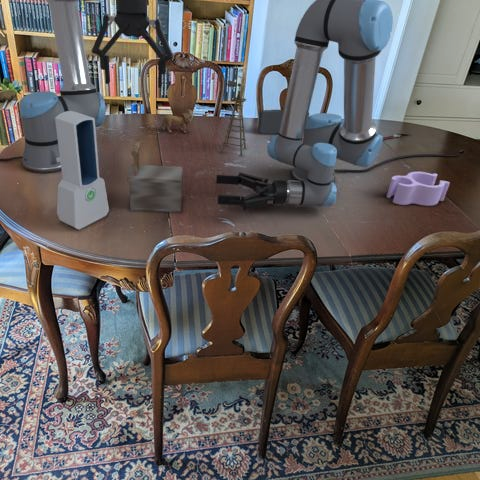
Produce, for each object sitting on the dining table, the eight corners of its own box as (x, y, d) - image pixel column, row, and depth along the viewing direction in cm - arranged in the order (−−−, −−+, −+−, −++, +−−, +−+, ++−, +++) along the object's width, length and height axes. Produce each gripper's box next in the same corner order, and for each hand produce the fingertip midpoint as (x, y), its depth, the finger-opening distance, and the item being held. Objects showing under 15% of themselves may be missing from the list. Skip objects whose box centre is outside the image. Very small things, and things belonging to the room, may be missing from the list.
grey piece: (126, 180, 134) (125, 151, 129) (130, 167, 141) (129, 139, 136) (181, 183, 135) (182, 154, 130) (182, 170, 143) (183, 142, 138)
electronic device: (76, 231, 126) (63, 124, 110) (57, 222, 129) (42, 116, 113) (110, 214, 135) (103, 112, 119) (91, 206, 138) (82, 105, 122)
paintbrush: (406, 132, 223) (406, 130, 222) (411, 134, 221) (412, 132, 220) (362, 144, 207) (363, 141, 206) (368, 146, 205) (368, 143, 204)
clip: (400, 208, 156) (406, 189, 152) (379, 191, 165) (384, 173, 162) (448, 203, 162) (455, 186, 158) (425, 187, 172) (431, 170, 168)
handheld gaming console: (303, 130, 212) (307, 109, 207) (306, 132, 210) (310, 111, 205) (256, 132, 205) (259, 109, 200) (259, 134, 203) (261, 111, 197)
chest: (130, 210, 139) (129, 181, 134) (134, 195, 146) (133, 167, 141) (180, 212, 140) (181, 183, 135) (181, 198, 148) (182, 170, 143)
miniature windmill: (241, 156, 181) (249, 76, 164) (220, 152, 182) (226, 73, 165) (246, 147, 188) (254, 71, 172) (225, 144, 189) (231, 68, 173)
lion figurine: (191, 128, 201) (192, 107, 196) (194, 132, 197) (195, 111, 192) (157, 129, 196) (157, 108, 192) (160, 134, 192) (160, 112, 187)
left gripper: (74, -9, 108) (82, 84, 119) (183, 1, 110) (181, 91, 122) (81, -12, 114) (88, 77, 125) (184, -3, 117) (182, 84, 128)
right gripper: (290, 223, 136) (217, 220, 133) (278, 185, 157) (215, 182, 154) (294, 200, 132) (219, 197, 129) (281, 164, 153) (216, 160, 150)
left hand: (134, 84), depth 124 cm, fingers open, 13 cm apart
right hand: (217, 189), depth 142 cm, fingers open, 13 cm apart
